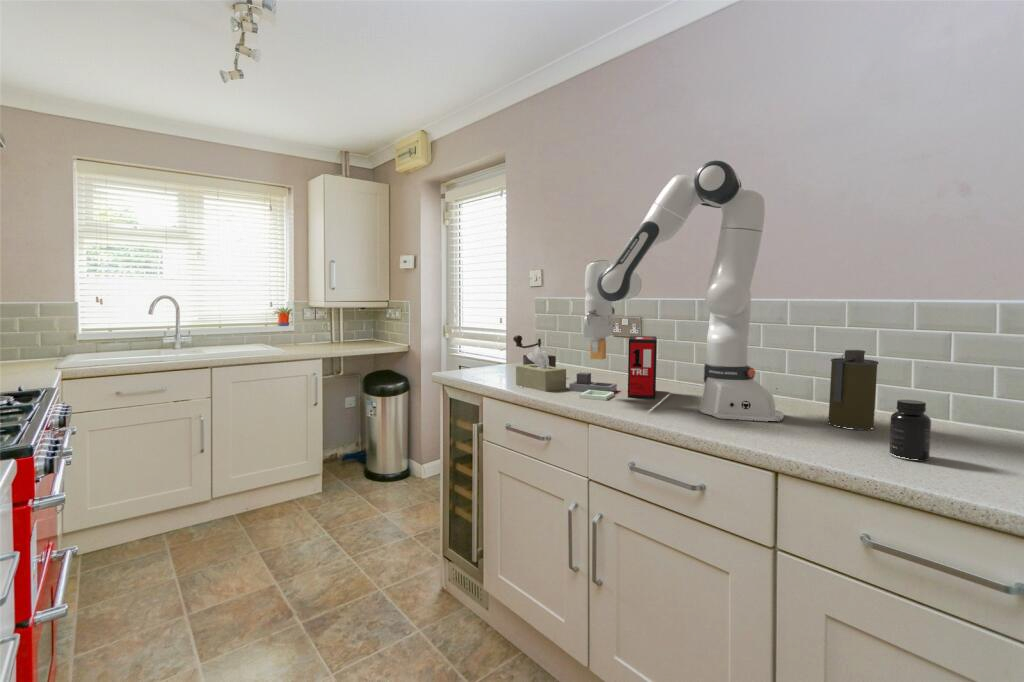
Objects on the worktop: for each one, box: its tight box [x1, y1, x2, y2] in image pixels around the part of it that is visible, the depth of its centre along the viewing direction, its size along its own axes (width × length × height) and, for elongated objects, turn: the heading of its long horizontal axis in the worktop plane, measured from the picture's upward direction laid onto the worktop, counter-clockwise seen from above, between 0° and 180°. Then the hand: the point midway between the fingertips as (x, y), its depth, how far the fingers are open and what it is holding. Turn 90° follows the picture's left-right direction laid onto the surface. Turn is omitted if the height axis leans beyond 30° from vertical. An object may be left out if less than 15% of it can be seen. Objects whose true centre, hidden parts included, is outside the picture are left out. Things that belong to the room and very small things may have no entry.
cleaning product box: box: [627, 335, 658, 400], centre depth 177 cm, size 16×9×20 cm, turn 165°
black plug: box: [576, 371, 592, 385], centre depth 185 cm, size 4×4×6 cm
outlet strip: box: [568, 380, 618, 393], centre depth 183 cm, size 15×8×3 cm, turn 62°
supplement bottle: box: [888, 399, 932, 461], centre depth 109 cm, size 7×7×12 cm
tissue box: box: [515, 346, 567, 392], centre depth 191 cm, size 19×10×16 cm, turn 35°
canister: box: [827, 349, 880, 429], centre depth 135 cm, size 11×10×20 cm
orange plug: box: [590, 340, 607, 360], centre depth 170 cm, size 4×4×6 cm
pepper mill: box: [512, 334, 557, 367], centre depth 216 cm, size 16×11×18 cm
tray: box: [579, 390, 615, 401], centre depth 172 cm, size 9×9×2 cm
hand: (598, 351), depth 170 cm, fingers closed on orange plug, 4 cm apart
